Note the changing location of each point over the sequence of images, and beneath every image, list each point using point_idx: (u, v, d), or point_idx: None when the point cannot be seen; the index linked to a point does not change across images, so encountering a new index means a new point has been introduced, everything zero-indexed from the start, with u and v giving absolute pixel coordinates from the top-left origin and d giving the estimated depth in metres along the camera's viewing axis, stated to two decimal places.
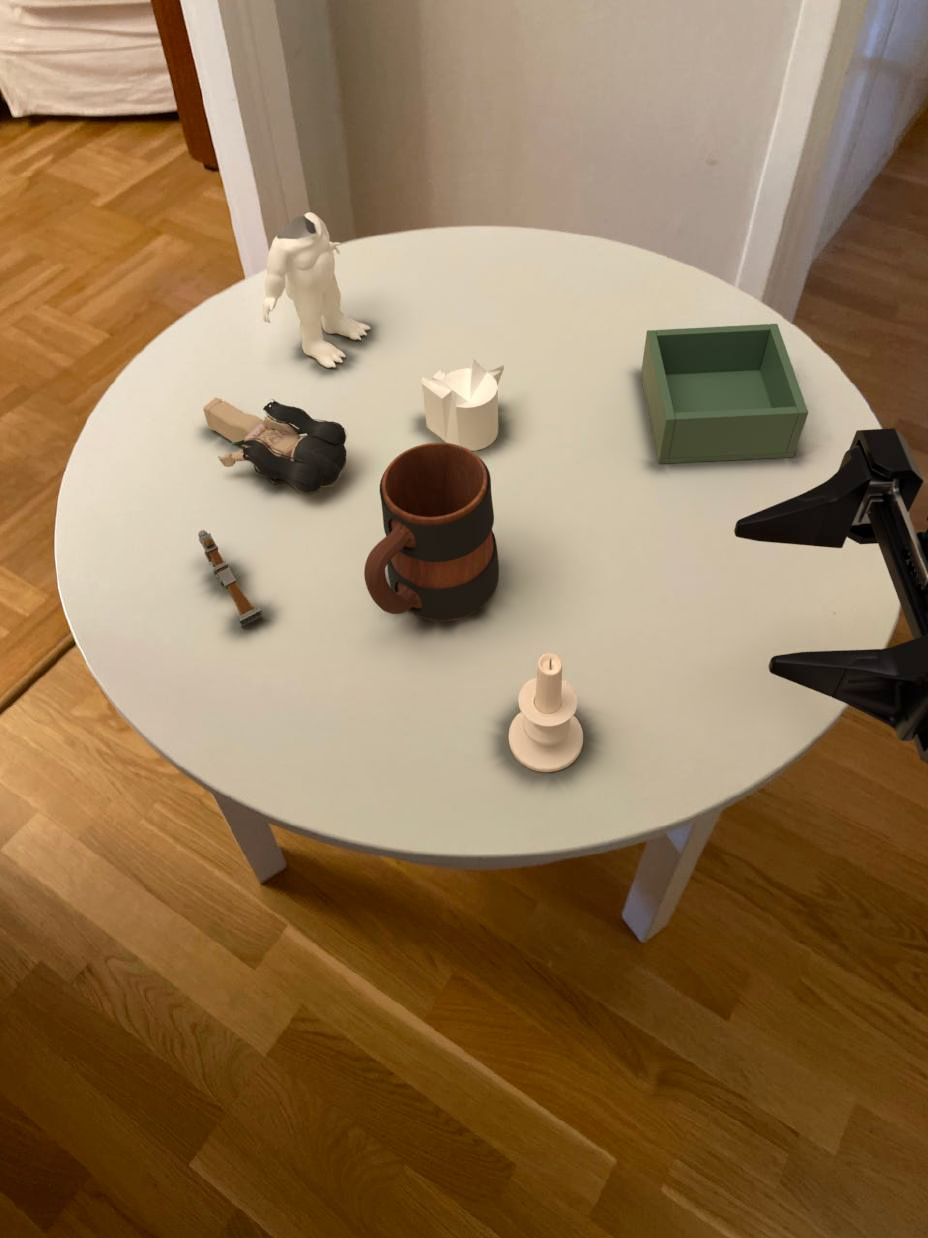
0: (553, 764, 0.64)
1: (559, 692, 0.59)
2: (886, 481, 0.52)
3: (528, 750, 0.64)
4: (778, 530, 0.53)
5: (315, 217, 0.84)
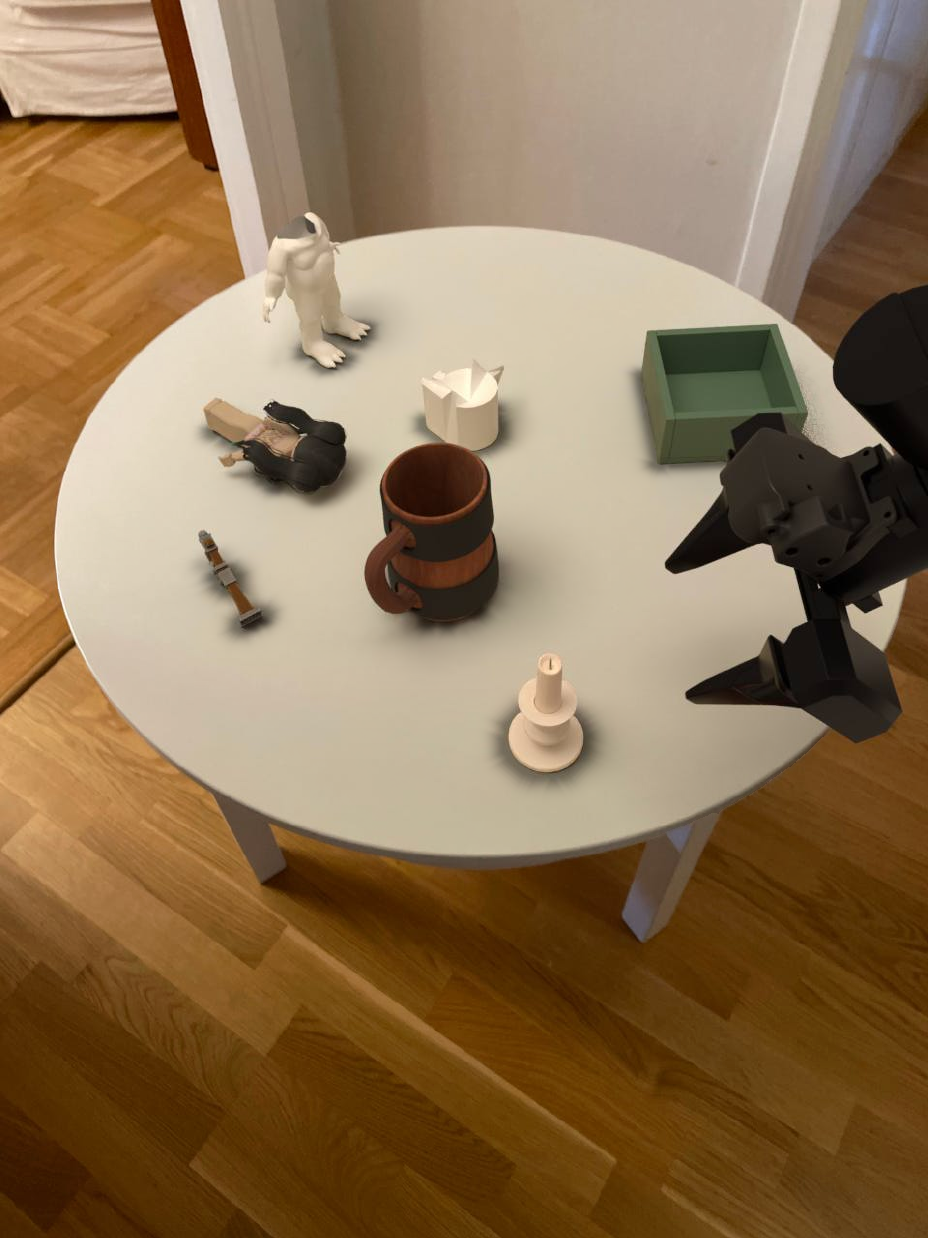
0: (553, 764, 0.64)
1: (559, 692, 0.59)
2: None
3: (528, 750, 0.64)
4: (705, 553, 0.56)
5: (315, 217, 0.84)
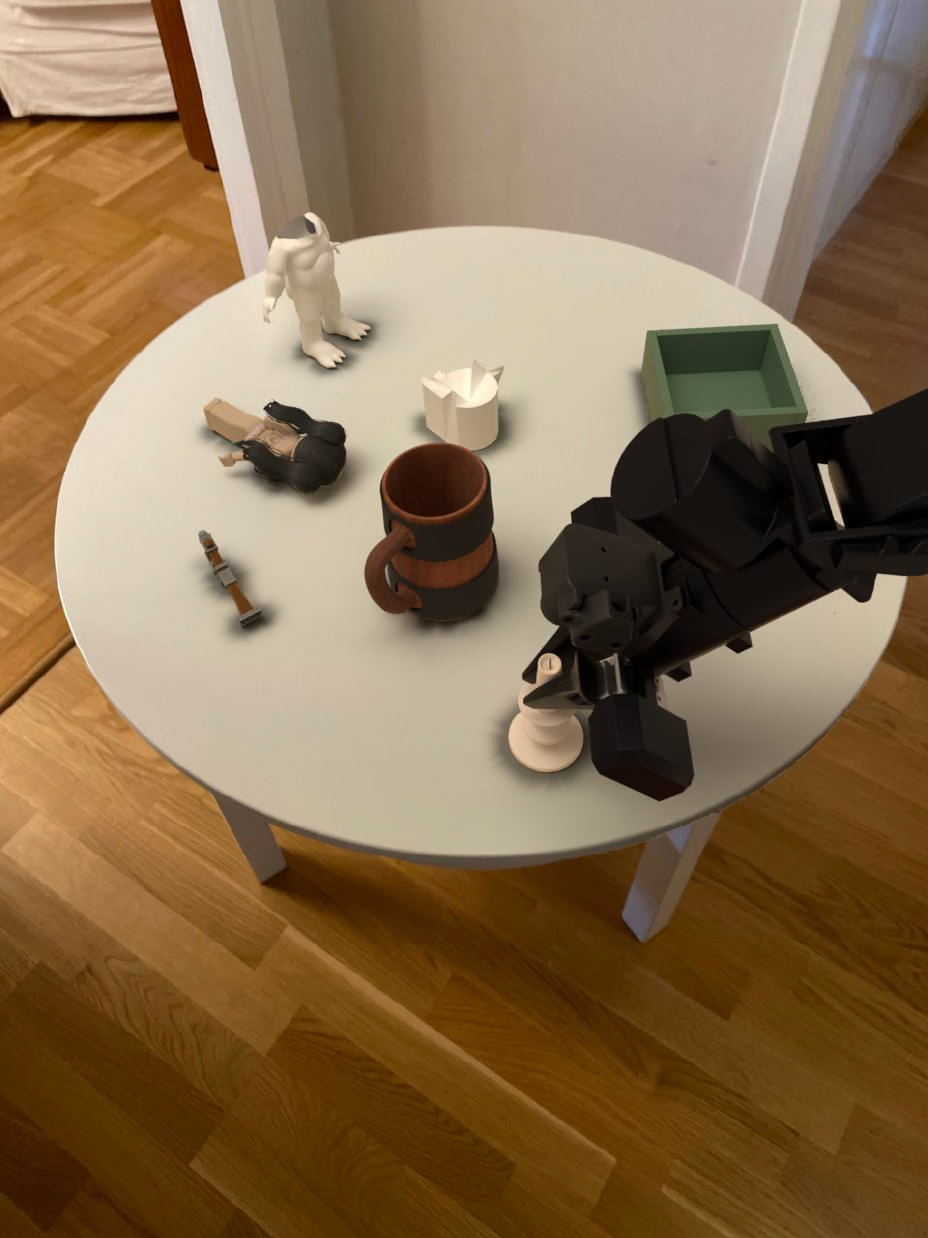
0: (553, 764, 0.64)
1: None
2: None
3: (528, 750, 0.64)
4: None
5: (315, 217, 0.84)
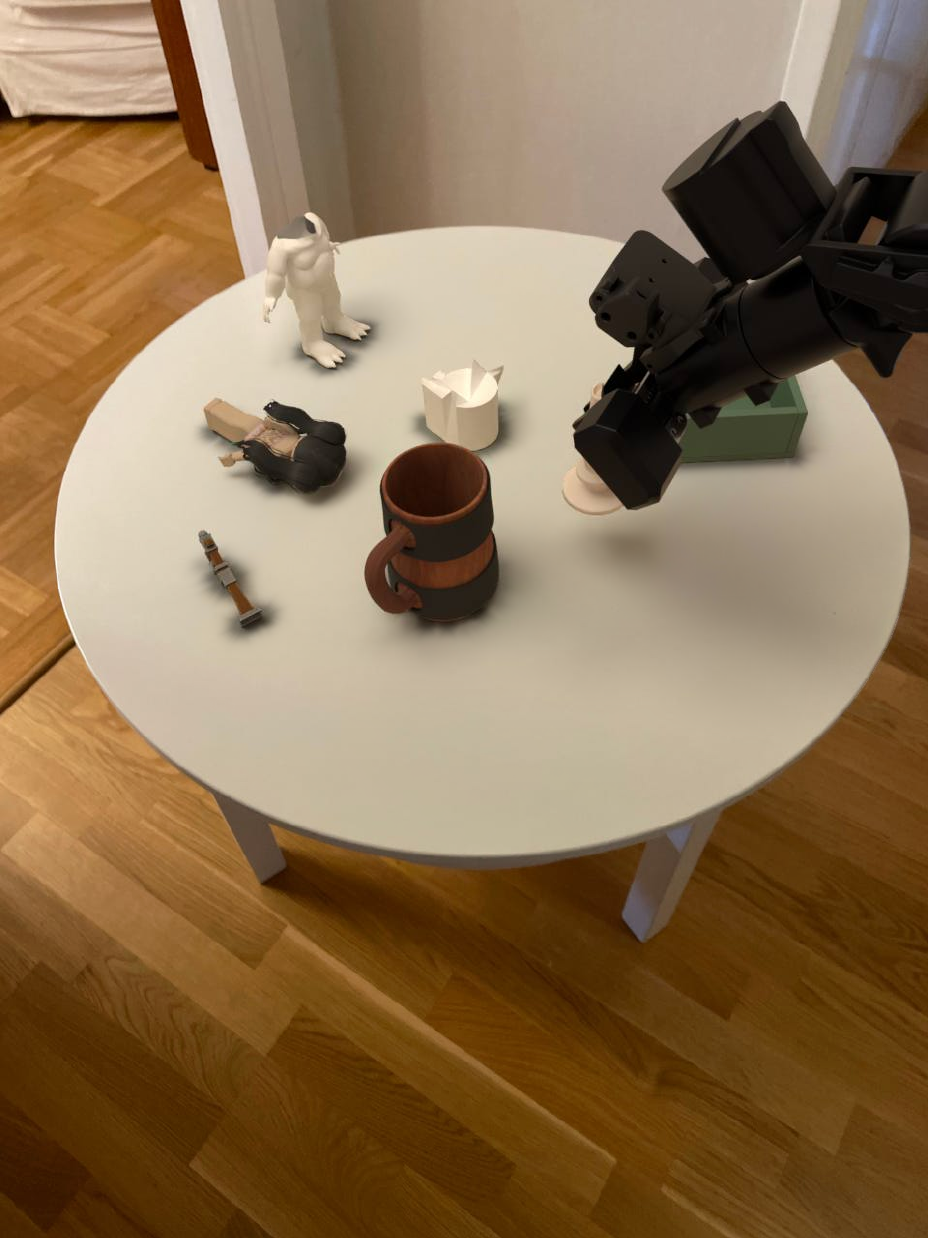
0: (590, 507, 0.68)
1: None
2: None
3: (574, 490, 0.69)
4: None
5: (315, 217, 0.84)
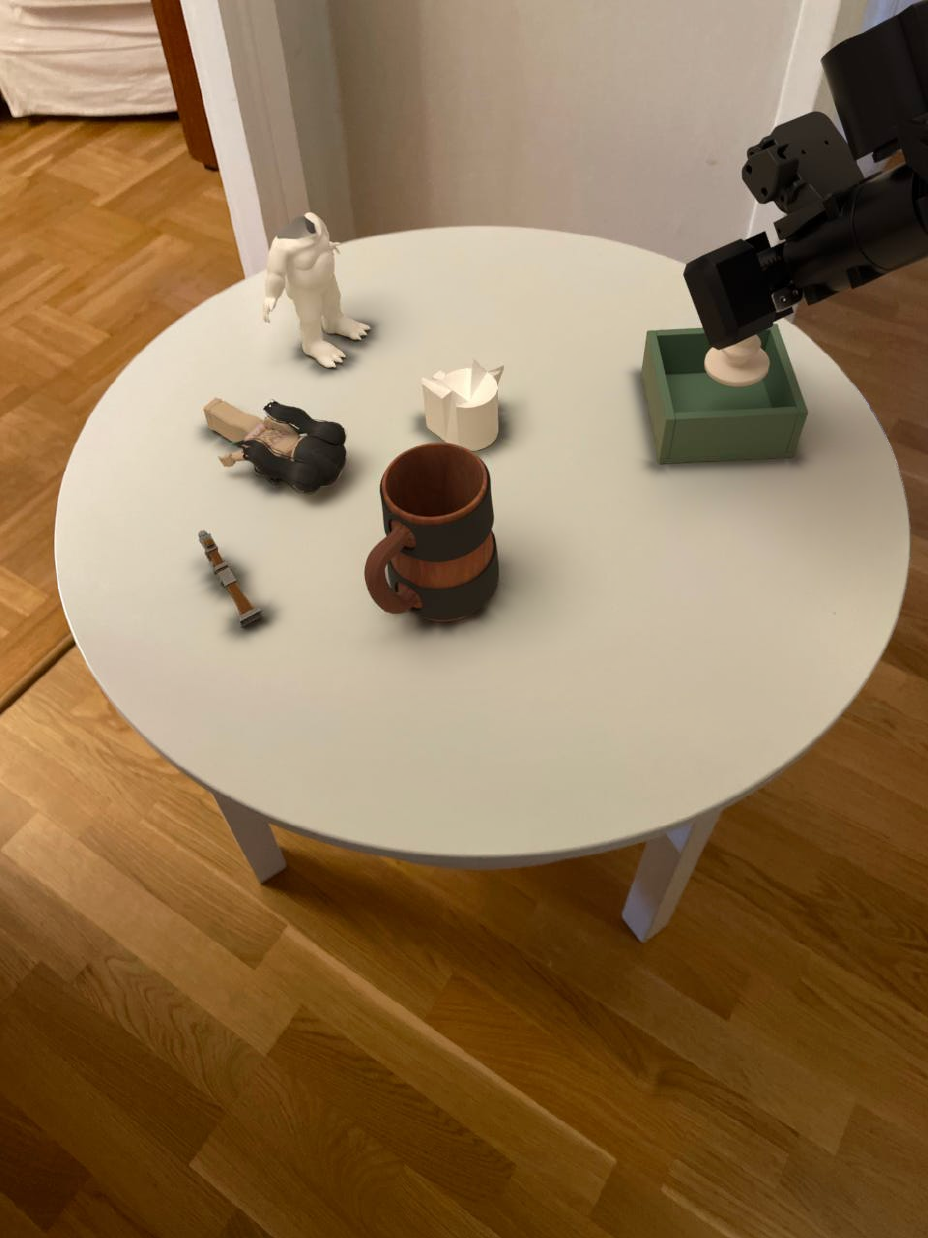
0: (719, 374, 0.76)
1: None
2: None
3: (715, 358, 0.77)
4: None
5: (315, 217, 0.84)
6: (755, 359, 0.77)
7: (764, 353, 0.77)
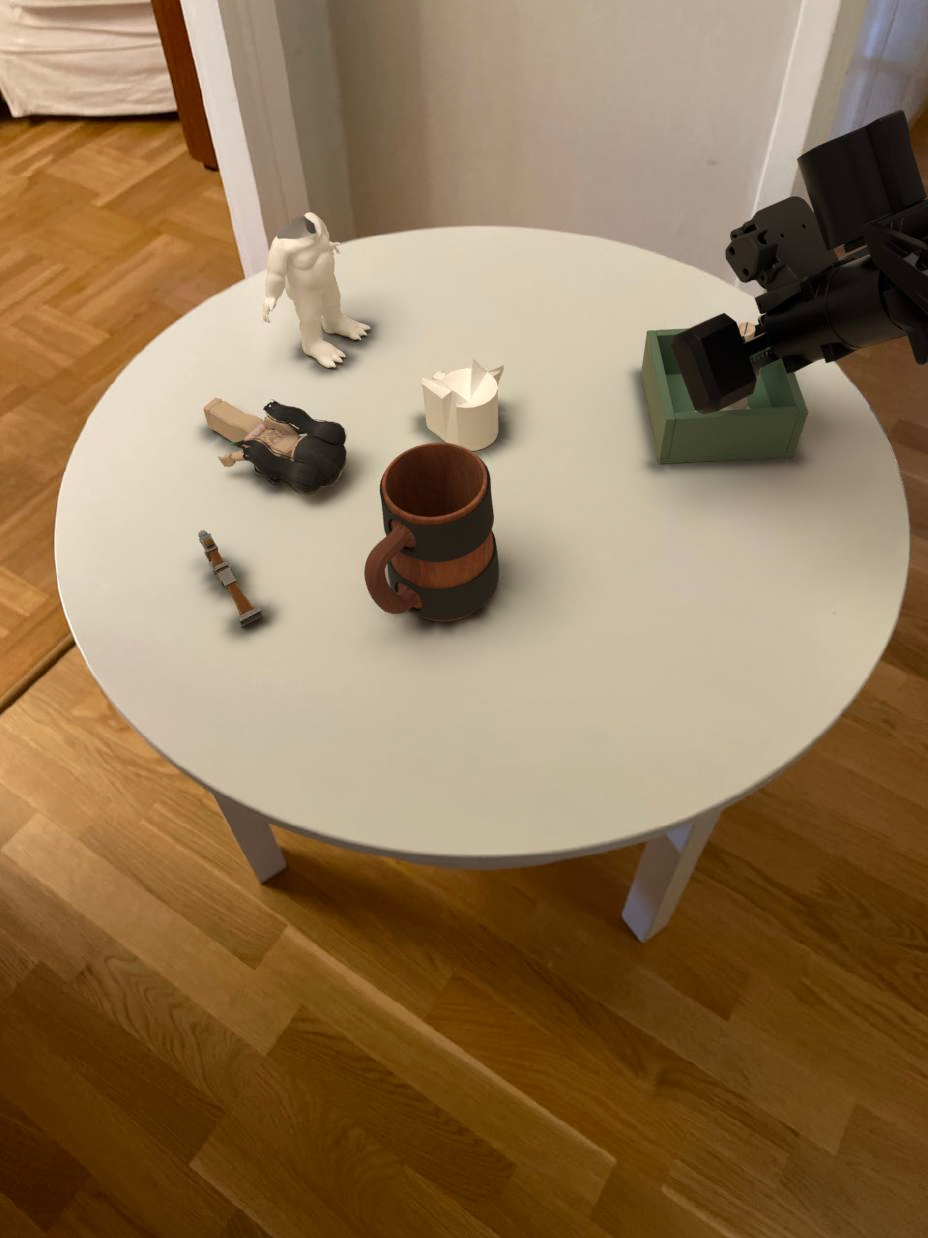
0: None
1: None
2: None
3: None
4: None
5: (315, 217, 0.84)
6: None
7: None
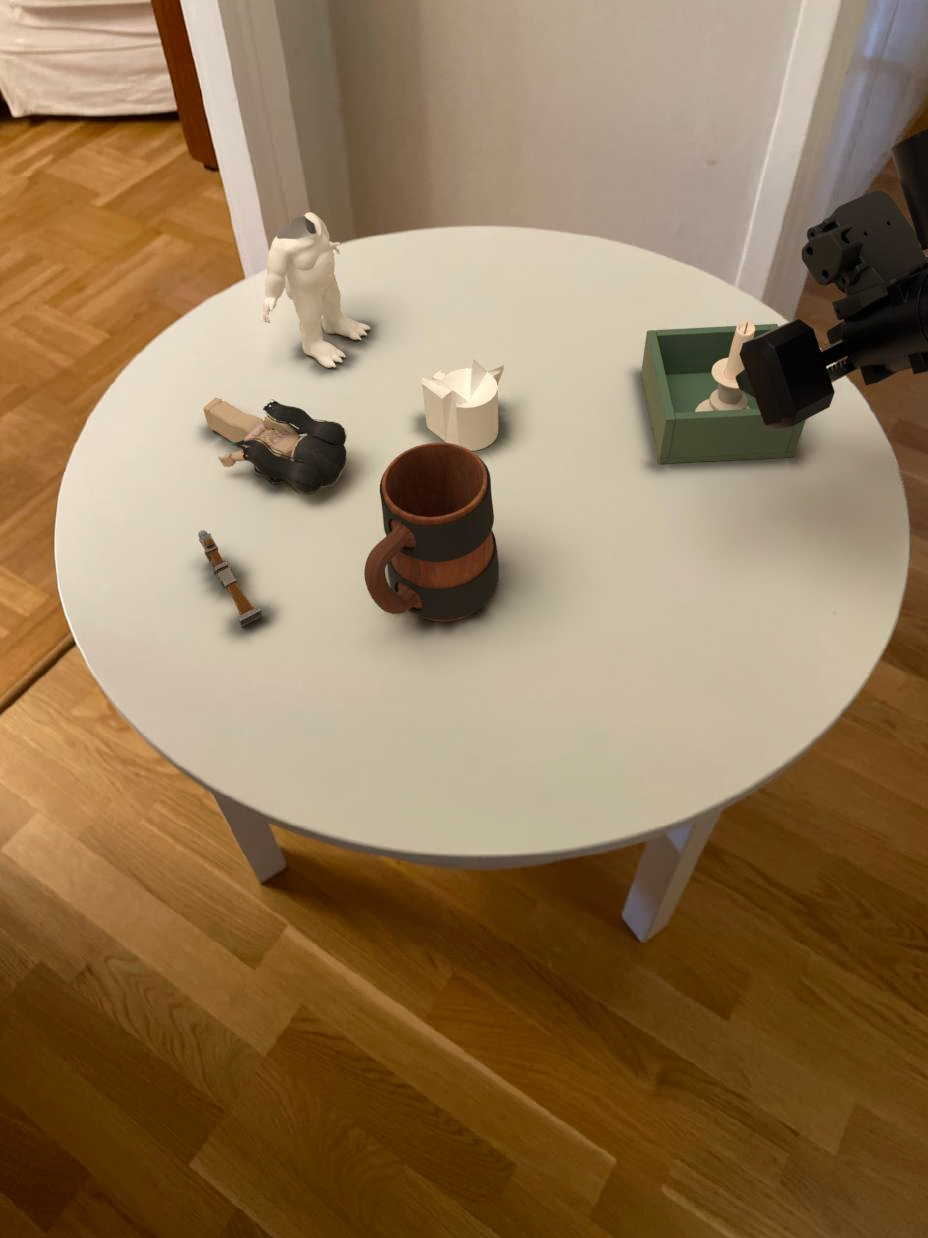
0: None
1: (740, 361, 0.76)
2: None
3: None
4: None
5: (315, 217, 0.84)
6: None
7: None
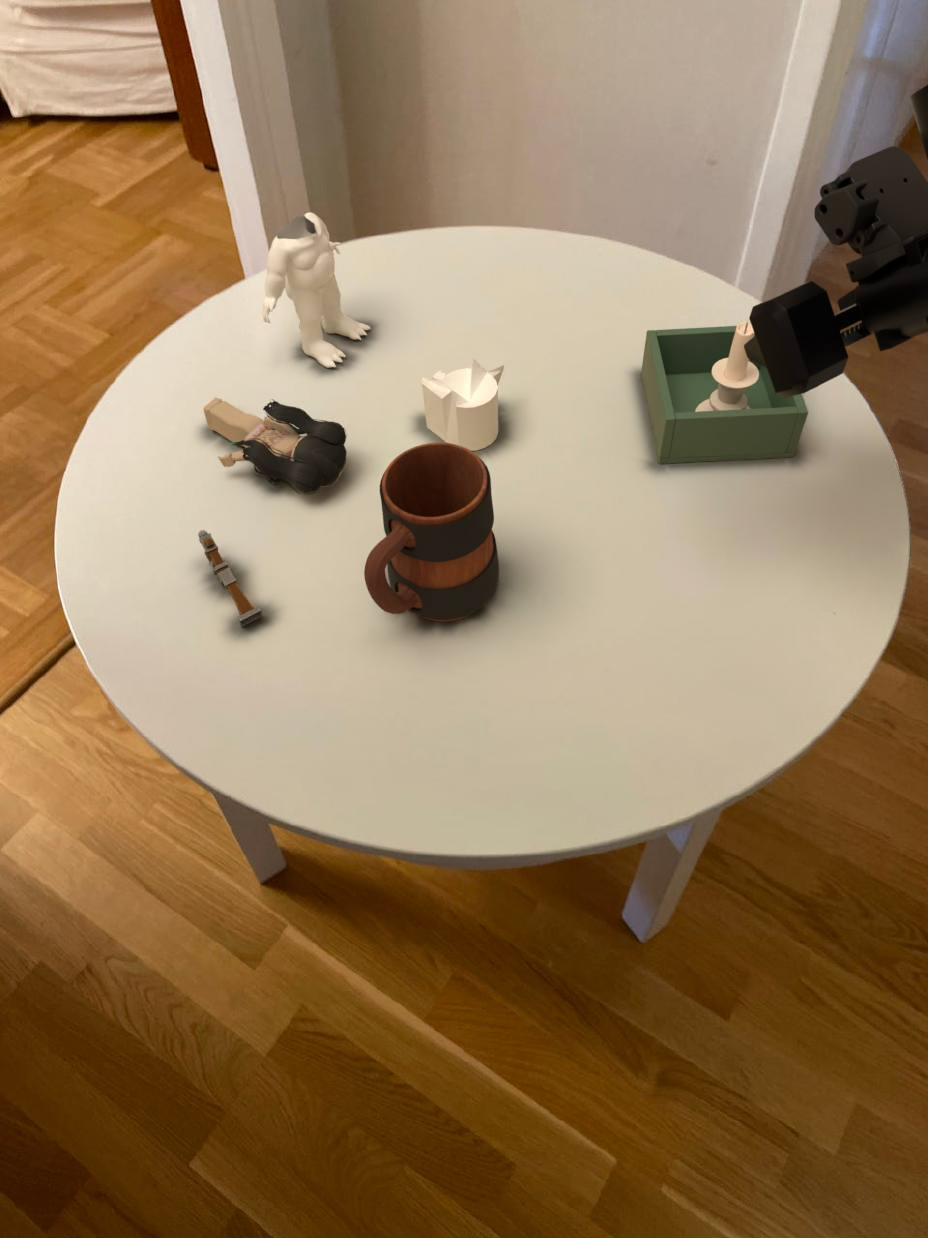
0: None
1: (740, 361, 0.76)
2: None
3: None
4: None
5: (315, 217, 0.84)
6: None
7: None
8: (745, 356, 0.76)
